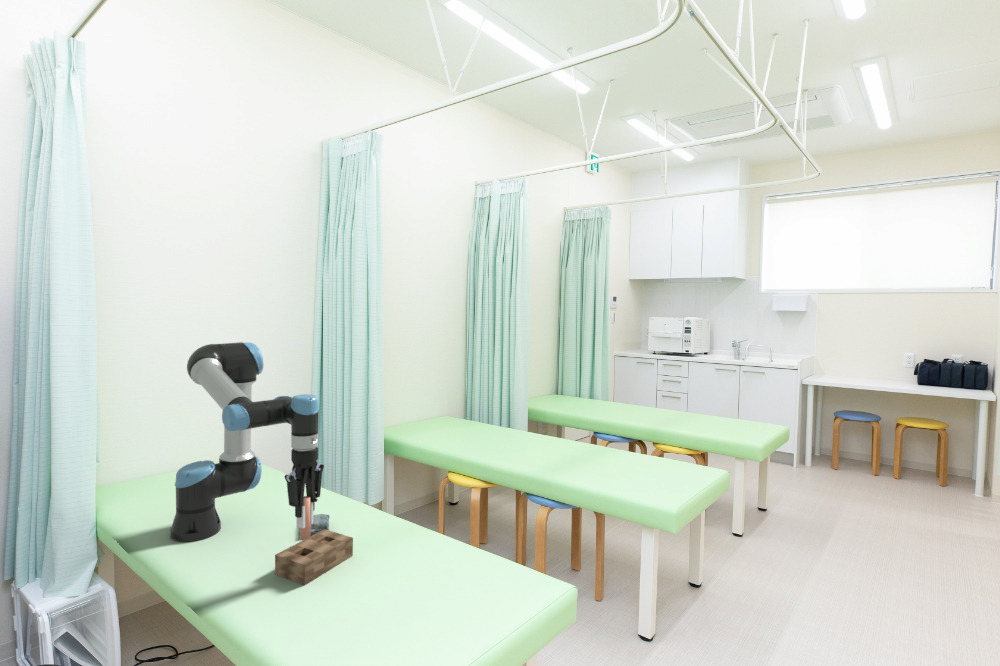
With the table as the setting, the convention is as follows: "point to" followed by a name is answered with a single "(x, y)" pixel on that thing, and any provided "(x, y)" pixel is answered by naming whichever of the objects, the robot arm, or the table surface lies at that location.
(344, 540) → the bore block
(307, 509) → the dowel
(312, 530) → the packaged food
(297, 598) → the table surface
